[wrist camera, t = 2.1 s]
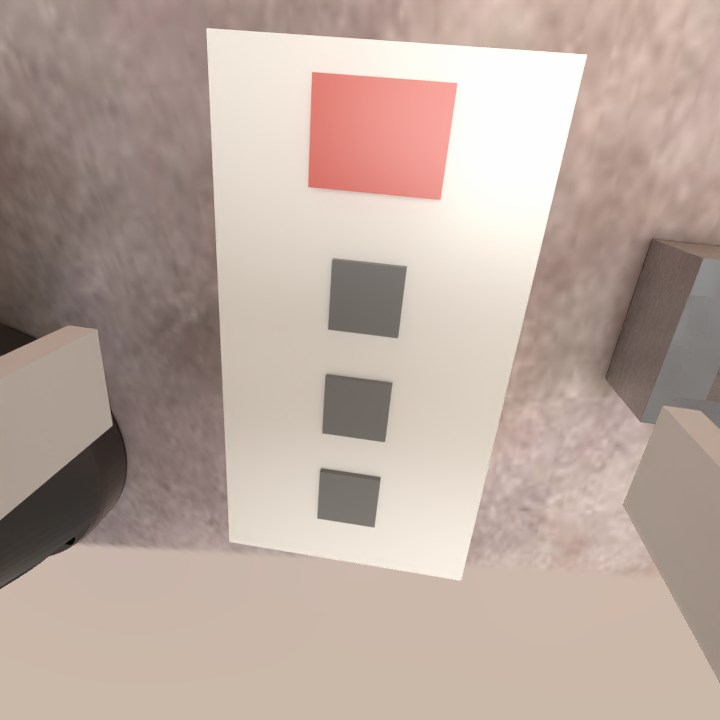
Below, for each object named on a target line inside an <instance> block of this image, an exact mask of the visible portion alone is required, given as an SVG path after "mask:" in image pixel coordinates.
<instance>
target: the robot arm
mask: <svg viewBox="0 0 720 720" xmlns="http://www.w3.org/2000/svg"><path fill="white" fill-rule="evenodd" d="M125 475H126V459H125V452H124V447H123V443H122V439H121V436H120V433H119V430H118V428H117V426H116V423H115V421H114V419H113V417H112V415H111V412H110V405H109V399H108V393H107V387H106V380H105V374H104V368H103V362H102V356H101V349H100V343H99V337H98V331H97V329H92V328H85V327H78V326H70V325H68V326H65V327H63V328H61V329H59V330H57V331H55V332H52V333H50V334H48V335H46V336H44V337H42V338H40V339H37V340H34V339H32V338H30V337H29V336H27V335H24V334H22V333H20V332H18V331H15V330H13V329H10V328H8V327H5V326H1V325H0V589H1V588H3V587H4V586H6V585H8V584H9V583H11V582H12V581H14V580H16V579H17V578H19V577H20V576H22V575H24V574H25V573H27V572H28V571H30V570H31V569H33V568H34V567H35V566H37V565H38V564H40V563H41V562H42V561H43V560H45V559H46V558H47V557H48V556H51V555H55V554H57V553H60V552H62V551H64V550H66V549H68V548H70V547H71V546H73V545H75V544H76V543H78V542H79V541H81V540H82V539H83V538H84V537H86V536H87V535H88V534H89V533H90V532H91V531H92V530H93V529H94V528H95V527H96V526H97V524H98V523H99V522H100V521H101V520H102V519H103V518H104V517H105V516H106V514H107V513H108V512H109V511H110V510H111V509H112V508H113V506H114V505H115V503H116V502H117V500H118V498H119V497H120V494H121V492H122V489H123V486H124V482H125ZM623 506H624V508H625V510H626V512H627V513H628V515H629V517H630V519H631V521H632V523H633V524H634V526H635V528H636V530H637V532H638V534H639V535H640V537H641V539H642V541H643V543H644V545H645V546H646V548H647V550H648V552H649V554H650V556H651V557H652V559H653V561H654V563H655V565H656V567H657V568H658V570H659V572H660V574H661V576H662V578H663V579H664V581H665V583H666V585H667V587H668V589H669V590H670V592H671V594H672V596H673V598H674V600H675V602H676V603H677V605H678V607H679V609H680V611H681V612H682V614H683V616H684V618H685V620H686V622H687V624H688V625H689V627H690V629H691V631H692V633H693V635H694V636H695V638H696V640H697V642H698V644H699V646H700V647H701V649H702V651H703V653H704V655H705V656H706V658H707V660H708V662H709V664H710V665H711V667H712V669H713V671H714V673H715V675H716V677H717V678H718V680H719V682H720V429H719V428H718V427H717V426H716V425H715V424H714V423H713V422H712V421H711V420H710V419H709V418H708V417H706V416H705V415H704V414H703V413H702V412H701V411H699V410H692V409H685V408H677V407H670V406H663V407H662V409H661V412H660V414H659V417H658V419H657V421H656V424H655V426H654V429H653V431H652V434H651V436H650V439H649V441H648V444H647V446H646V449H645V451H644V454H643V456H642V459H641V461H640V464H639V466H638V469H637V471H636V474H635V476H634V479H633V481H632V484H631V486H630V489H629V491H628V494H627V496H626V499H625V501H624V504H623Z"/></svg>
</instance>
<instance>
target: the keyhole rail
mask: <svg viewBox="0 0 720 720" xmlns="http://www.w3.org/2000/svg"><path fill="white" fill-rule="evenodd" d="M606 380H607V381H608V382H609V383H610V385H611V386H612V387H613V388H614V390H615V391H616V392H617V393H618V395H619V396H620V397H621V398H622V400H623V401H624V402H625V403H626V405H627V406H628V407H629V408H630V410H631V411H632V412H633V413H634V415H635V416H636V417H637V418H638V420H639V421H640V422H644V423H652V424H656V421H657V419H658V417H659V414H660V412H661V409H662V407H663V406H670V407H677V408H685V409H692V410H699V411H701V412H702V413H703V414H704V415H705V416H706V417H708V418H709V419H710V420H711V421H712V422H713V423H714V424H715V425H716V426H717V427H718V428H719V429H720V246H716V245H706V244H696V243H686V242H676V241H666V240H656V239H652V242H651V245H650V248H649V251H648V254H647V257H646V260H645V263H644V266H643V269H642V272H641V275H640V278H639V281H638V284H637V287H636V290H635V293H634V296H633V299H632V302H631V305H630V308H629V311H628V314H627V317H626V320H625V323H624V326H623V329H622V332H621V335H620V338H619V340H618V343H617V346H616V349H615V352H614V355H613V358H612V361H611V364H610V367H609V370H608V373H607V376H606Z"/></svg>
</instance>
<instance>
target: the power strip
mask: <svg viewBox="0 0 720 720" xmlns="http://www.w3.org/2000/svg"><path fill="white" fill-rule="evenodd" d="M206 30H207V52H208V74H209V96H210V119H211V141H212V163H213V185H214V207H215V230H216V252H217V274H218V296H219V319H220V341H221V363H222V385H223V407H224V430H225V452H226V474H227V496H228V518H229V541H230V542H232V543H238V544H244V545H250V546H256V547H262V548H268V549H274V550H280V551H286V552H292V553H298V554H304V555H310V556H316V557H322V558H328V559H334V560H340V561H346V562H352V563H358V564H364V565H370V566H377V567H382V568H388V569H395V570H400V571H406V572H413V573H418V574H424V575H431V576H437V577H442V578H448V579H455V580H461V578H462V575H463V570H464V566H465V562H466V558H467V554H468V550H469V545H470V541H471V537H472V533H473V529H474V524H475V520H476V516H477V512H478V508H479V504H480V499H481V495H482V491H483V487H484V483H485V479H486V474H487V470H488V466H489V462H490V458H491V454H492V449H493V445H494V441H495V437H496V433H497V429H498V424H499V420H500V416H501V412H502V408H503V403H504V399H505V395H506V391H507V387H508V383H509V378H510V374H511V370H512V366H513V362H514V358H515V353H516V349H517V345H518V341H519V337H520V333H521V328H522V324H523V320H524V316H525V312H526V308H527V303H528V299H529V295H530V291H531V287H532V282H533V278H534V274H535V270H536V266H537V262H538V257H539V253H540V249H541V245H542V241H543V237H544V232H545V228H546V224H547V220H548V216H549V212H550V207H551V203H552V199H553V195H554V191H555V187H556V182H557V178H558V174H559V170H560V166H561V161H562V157H563V153H564V149H565V145H566V141H567V136H568V132H569V128H570V124H571V120H572V116H573V111H574V107H575V103H576V99H577V95H578V91H579V86H580V82H581V78H582V74H583V70H584V66H585V61H586V57H587V55H585V54H571V53H556V52H542V51H527V50H513V49H499V48H484V47H470V46H455V45H441V44H427V43H412V42H398V41H383V40H369V39H355V38H340V37H326V36H311V35H297V34H283V33H268V32H254V31H239V30H225V29H211V28H206Z"/></svg>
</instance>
